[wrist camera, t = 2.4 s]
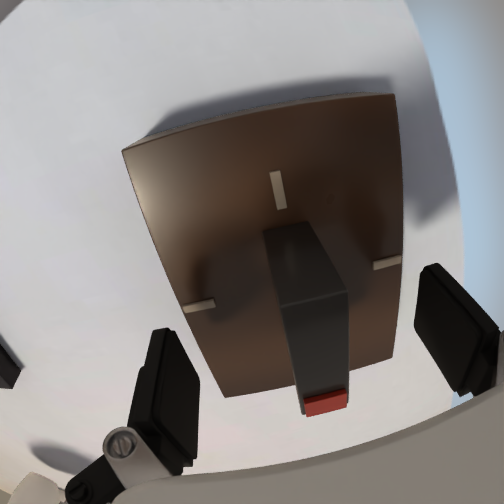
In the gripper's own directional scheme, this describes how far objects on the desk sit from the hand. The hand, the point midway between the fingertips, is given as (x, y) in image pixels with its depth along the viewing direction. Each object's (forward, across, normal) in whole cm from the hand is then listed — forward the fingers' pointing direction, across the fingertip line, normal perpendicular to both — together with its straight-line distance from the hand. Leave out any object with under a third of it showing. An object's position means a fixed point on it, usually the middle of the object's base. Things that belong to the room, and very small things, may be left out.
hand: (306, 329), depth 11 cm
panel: (+6, 0, 0) cm, 6 cm away
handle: (+2, 0, 0) cm, 2 cm away
